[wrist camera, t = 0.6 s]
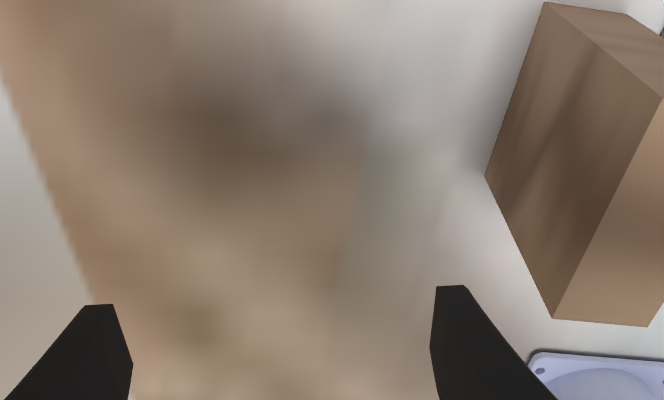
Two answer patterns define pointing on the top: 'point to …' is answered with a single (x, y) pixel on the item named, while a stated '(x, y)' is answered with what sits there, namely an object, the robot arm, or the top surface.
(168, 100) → the top surface
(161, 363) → the top surface
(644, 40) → the slab
